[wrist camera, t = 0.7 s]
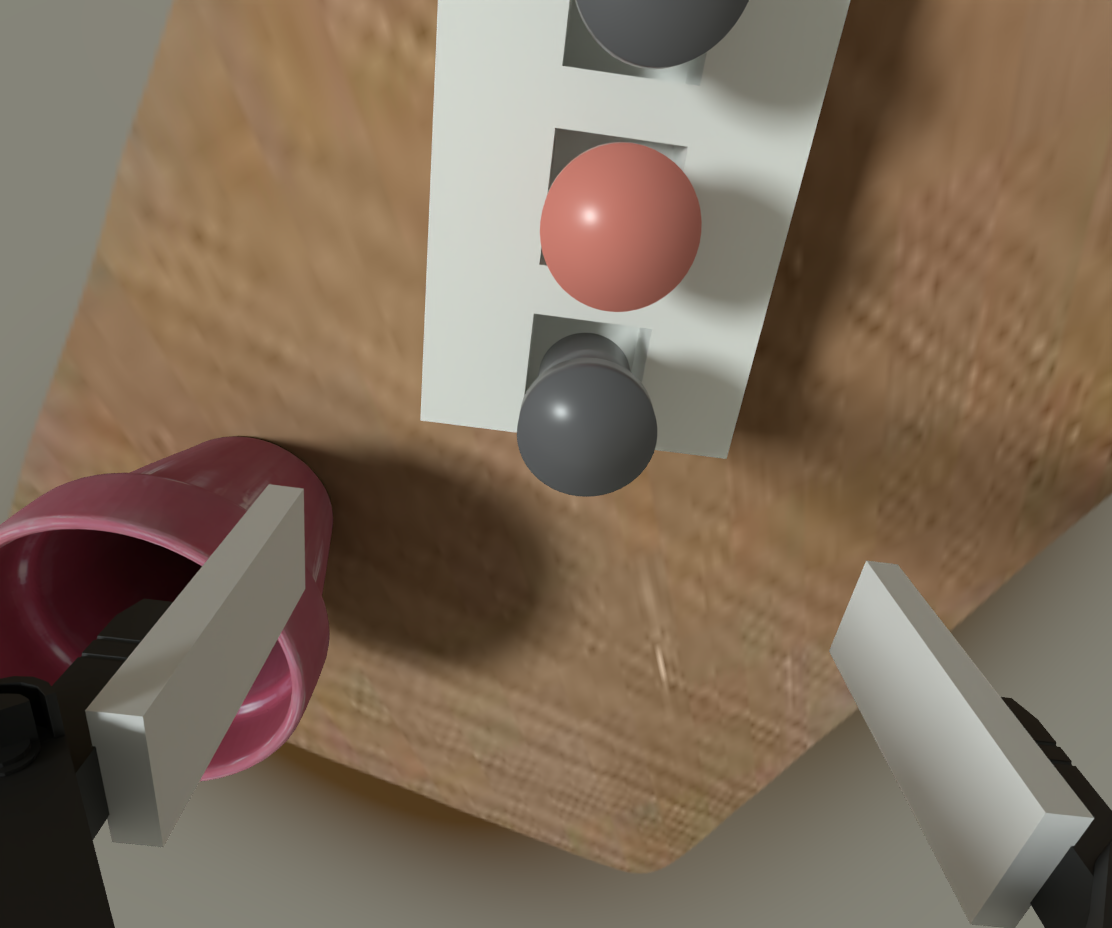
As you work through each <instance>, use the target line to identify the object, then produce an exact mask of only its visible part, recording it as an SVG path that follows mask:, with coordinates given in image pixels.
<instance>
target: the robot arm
mask: <svg viewBox="0 0 1112 928" xmlns="http://www.w3.org/2000/svg"><path fill="white" fill-rule="evenodd" d="M304 590H305V537H304V489H302V488H295V487H287V486H279V485H271V484H269V485H268V486H267V487H266V488H265V490H264V491H263V492H262V493H261V495H260V496H259V497H258V498H257V500H256V501H255V502H254V503H253V504H252V506H251V507H250V508H249V509H248V511H247V512H246V513H245V514H244V516H243V517H242V518H241V519H240V520H239V522H238V523H237V524H236V525H235V527H234V528H233V529H232V530H231V532H230V533H229V534H228V535H227V536H226V538H225V539H224V540H223V541H222V543H221V544H220V545H219V546H218V548H217V549H216V550H215V551H214V552H213V554H212V555H211V556H210V557H209V559H208V560H207V561H206V562H205V564H204V565H203V566H202V567H201V568H200V570H199V571H198V572H197V573H196V575H195V576H194V577H193V578H192V580H191V581H190V582H189V583H188V584H187V586H186V587H185V588H184V589H183V591H182V592H181V593H180V594H179V596H178V597H177V598H176V599H175V600H174V602H169V601H161V600H152V599H142V600H141V601H139V602H137V603H136V604H134V605H132V606H131V607H129V608H127V609H126V610H124V611H122V612H120V613H119V614H117V615H116V616H115V617H114V618H113V619H112V620H111V621H110V622H109V623H108V625H107V626H106V627H105V628H104V629H103V630H102V631H101V632H100V633H99V634H98V636H97V639H96V640H93V641H92V642H91V643H90V644H89V646H88V647H87V648H86V649H85V650H84V651H83V652H82V656H81V657H78V658H77V659H76V660H75V661H74V662H73V663H72V664H71V665H70V666H69V668H68V669H67V670H66V671H65V672H64V673H63V674H62V675H61V676H60V677H59V679H58V680H57V681H56V682H55V683H54V684H53V685H52V686H51V685H50V684H49V682H47V681H44V680H41V679H39V678H36V677H30V676H11V677H6V678H1V679H0V928H115V927H114V923H113V919H112V915H111V911H110V907H109V903H108V900H107V895H106V891H105V887H104V883H103V880H102V876H101V872H100V868H99V864H98V860H97V856H96V852H95V848H94V844H93V839H94V838H95V836H96V834H97V833H98V831H99V830H100V828H101V827H102V825H103V824H104V822H105V821H106V819H108V824H109V829H110V833H111V838H112V842H116V843H126V844H136V845H147V846H158V847H164V845H165V843H166V841H167V840H168V838H169V836H170V834H171V832H172V830H173V829H174V827H175V825H176V823H177V821H178V820H179V818H180V816H181V814H182V812H183V810H184V808H185V807H186V805H187V803H188V801H189V799H190V798H191V796H192V794H193V792H194V790H195V789H196V787H197V785H198V783H199V781H200V779H201V778H202V776H203V774H204V772H205V770H206V769H207V767H208V765H209V763H210V761H211V759H212V758H213V756H214V754H215V752H216V750H217V749H218V747H219V745H220V743H221V741H222V739H223V738H224V736H225V734H226V732H227V730H228V729H229V727H230V725H231V723H232V721H233V719H234V718H235V716H236V714H237V712H238V710H239V708H240V707H241V705H242V703H243V701H244V699H245V698H246V696H247V694H248V692H249V690H250V688H251V687H252V685H253V683H254V681H255V679H256V678H257V676H258V674H259V672H260V670H261V668H262V667H263V665H264V663H265V661H266V659H267V658H268V656H269V654H270V652H271V650H272V648H273V647H274V645H275V643H276V641H277V639H278V638H279V636H280V634H281V632H282V630H283V628H284V627H285V625H286V623H287V621H288V619H289V617H290V616H291V614H292V612H293V610H294V608H295V607H296V605H297V603H298V601H299V599H300V597H301V596H302V594H303V592H304ZM829 652H830V654H831V656H832V658H833V659H834V661H835V663H836V665H837V667H838V669H839V671H840V673H841V675H842V677H843V679H844V681H845V683H846V685H847V687H848V688H849V690H850V692H851V694H852V696H853V698H854V700H855V702H856V704H857V706H858V708H859V710H860V712H861V713H862V715H863V717H864V719H865V721H866V723H867V725H868V727H869V729H870V731H871V733H872V735H873V737H874V739H875V741H876V743H877V745H878V746H879V748H880V750H881V752H882V754H883V756H884V758H885V760H886V762H887V764H888V766H889V768H890V769H891V772H892V774H893V776H894V777H895V779H896V781H897V783H898V785H899V787H900V789H901V790H902V793H903V795H904V796H905V799H906V801H907V802H908V805H909V806H910V808H911V810H912V812H913V814H914V816H915V818H916V820H917V822H918V824H919V826H920V828H921V830H922V832H923V833H924V835H925V837H926V839H927V841H928V843H929V845H930V847H931V849H932V851H933V853H934V855H935V857H936V859H937V861H938V862H939V864H940V866H941V868H942V870H943V872H944V874H945V876H946V878H947V880H948V882H949V884H950V886H951V888H952V889H953V892H954V893H955V895H956V897H957V899H958V901H959V903H960V905H961V907H962V909H963V911H964V913H965V915H966V917H967V919H968V921H969V922H970V924H972V925H983V926H994V927H1004V928H1015V927H1016V925H1017V924H1018V923H1019V921H1020V920H1021V919H1022V917H1023V916H1024V914H1025V913H1026V912H1027V910H1028V909H1029V907H1030V906H1032V907H1033V909H1034V910H1035V912H1036V914H1037V915H1038V917H1039V919H1040V920H1041V922H1042V924H1043V925H1044V927H1045V928H1112V811H1111V809H1110V808H1109V807H1108V806H1107V805H1106V803H1105V802H1104V801H1103V799H1102V798H1101V797H1100V796H1099V794H1098V793H1097V792H1096V791H1095V790H1094V788H1093V787H1092V786H1091V785H1090V783H1089V782H1088V781H1087V780H1086V778H1085V777H1084V776H1083V775H1082V773H1081V772H1080V771H1079V770H1078V769H1077V767H1076V766H1072V764H1071V760H1070V759H1069V757H1068V756H1067V755H1066V754H1065V753H1064V751H1063V750H1062V749H1061V748H1060V747H1057V746H1056V741H1055V740H1054V739H1053V738H1052V737H1051V735H1050V734H1049V733H1048V732H1047V731H1046V729H1045V728H1044V727H1043V725H1042V724H1041V723H1040V722H1039V720H1038V719H1036V718H1035V717H1034V716H1033V715H1032V714H1030V713H1029V712H1028V711H1027V710H1025V709H1024V708H1023V707H1022V706H1020V705H1019V704H1018V703H1017V702H1016V701H1014V700H1013V699H1012V698H1005V697H1000V696H999V695H998V693H997V692H996V691H995V690H994V688H993V687H992V686H991V685H990V683H989V682H988V680H987V679H986V678H985V677H984V675H983V674H982V673H981V672H980V670H979V669H978V668H977V666H976V665H975V664H974V662H973V661H972V660H971V659H970V657H969V656H968V655H967V653H966V652H965V651H964V649H963V648H962V647H961V646H960V644H959V643H958V642H957V641H956V639H955V638H954V637H953V635H952V634H951V633H950V631H949V630H948V629H947V628H946V626H945V625H944V624H943V622H942V621H941V620H940V619H939V617H938V616H937V615H936V613H935V612H934V611H933V610H932V608H931V607H930V606H929V604H928V603H927V602H926V601H925V599H924V598H923V597H922V595H921V594H920V593H919V592H918V590H917V589H916V588H915V586H914V585H913V584H912V583H911V581H910V580H909V579H908V577H907V576H906V575H905V573H904V572H903V571H902V570H901V568H900V567H899V566H898V565H896V564H889V563H881V562H873V561H866V563H865V565H864V568H863V570H862V573H861V575H860V577H859V580H858V582H857V585H856V587H855V590H854V592H853V594H852V597H851V599H850V602H849V604H848V607H847V609H846V611H845V614H844V616H843V619H842V621H841V624H840V626H839V629H838V631H837V633H836V636H835V638H834V641H833V643H832V646H831V648H830V650H829Z"/></svg>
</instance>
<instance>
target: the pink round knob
mask: <svg viewBox="0 0 1112 928" xmlns="http://www.w3.org/2000/svg"><path fill="white" fill-rule="evenodd" d="M701 227H702V220H701V210H700V206H699V201H698V198H697V195H696V193H695V190H694V188H693V186H692V184H691V182H690V181H689V179H688V177H687V176H686V175H685V173H684V172H683V171H682V170H681V169H680V168H679V167H678V166H677V165H676V163H675V162H673V161H672V160H671V159H669V158H668V157H667V156H665V155H663V154H662V153H660V152H658V151H656V150H654V149H652V148H649V147H647V146H644V145H641V144H636V143H632V142H611V143H606V144H602V145H598V146H596V147H593V148H590V149H588V150H587V151H585V152H583V153H581V154H579V155H578V156H577V157H575V158H574V159H573V160H571V161H570V162H569V163H568V164H567V165H566V166H565V167H564V168H563V169H562V171H561V172H560V173H559V174H558V176H557V177H556V179H555V180H554V182H553V183H552V185H551V187H550V189H549V192H548V194H547V197H546V200H545V203H544V206H543V210H542V215H541V220H540V241H541V247H542V252H543V256H544V259H545V262H546V264H547V266H548V268H549V270H550V272H551V274H552V276H553V277H554V279H555V280H556V282H557V283H558V284H559V285H560V286H561V287H562V289H563V290H564V291H566V292H567V293H568V294H569V295H570V296H571V297H573V298H574V299H576V300H577V301H579V302H581V303H583V304H585V305H587V306H589V307H592V308H595V309H598V310H603V311H609V312H627V311H632V310H637V309H641V308H644V307H647V306H649V305H651V304H653V303H655V302H657V301H659V300H660V299H662V298H663V297H665V296H666V295H667V294H669V293H670V292H671V291H672V290H673V289H674V288H675V287H676V286H677V285H678V284H679V283H680V282H681V281H682V279H683V278H684V277H685V275H686V274H687V273H688V271H689V269H690V267H691V266H692V264H693V261H694V259H695V257H696V254H697V251H698V247H699V244H700V238H701Z"/></svg>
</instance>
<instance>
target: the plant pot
mask: <svg viewBox="0 0 1112 928" xmlns="http://www.w3.org/2000/svg"><path fill="white" fill-rule="evenodd" d="M269 484H271V485H279V486H287V487H295V488H302V489H304V537H305V590H304V592H303V594H302V596H301V597H300V599H299V601H298V603H297V605H296V607H295V608H294V610H293V612H292V614H291V616H290V617H289V619H288V621H287V623H286V625H285V627H284V628H283V630H282V632H281V634H280V636H279V638H278V639H277V641H276V643H275V645H274V647H273V648H272V650H271V652H270V654H269V656H268V658H267V659H266V661H265V663H264V665H263V667H262V668H261V670H260V672H259V674H258V676H257V678H256V679H255V681H254V683H253V685H252V687H251V688H250V690H249V692H248V694H247V696H246V698H245V699H244V701H243V703H242V705H241V707H240V708H239V710H238V712H237V714H236V716H235V718H234V719H233V721H232V723H231V725H230V727H229V729H228V730H227V732H226V734H225V736H224V738H223V739H222V741H221V743H220V745H219V747H218V749H217V750H216V752H215V754H214V756H213V758H212V759H211V761H210V763H209V765H208V767H207V769H206V770H205V772H204V774H203V776H202V778H201V779H200V781H206V780H211V779H216V778H221V777H225V776H228V775H231V774H235V773H238V772H240V771H243V770H245V769H247V768H250V767H252V766H254V765H255V764H257V763H259V762H261V761H263V760H264V759H265V758H267V757H268V756H270V755H271V754H272V753H273V752H275V751H276V750H278V749H279V748H280V747H281V746H282V745H283V744H284V743H285V742H286V741H287V740H288V739H289V737H290V736H291V735H292V733H293V732H294V730H295V729H296V727H297V725H298V724H299V722H300V720H301V718H302V716H303V714H304V712H305V710H306V707H307V705H308V703H309V700H310V698H311V696H312V693H313V691H314V689H315V686H316V684H317V681H318V679H319V676H320V674H321V671H322V668H323V665H324V662H325V660H326V656H327V651H328V646H329V622H328V615H327V611H326V607H325V603H324V600H323V598H322V593H323V587H324V581H325V575H326V569H327V562H328V555H329V548H330V541H331V534H332V527H333V512H332V506H331V502H330V499H329V496H328V494H327V491H326V489H325V488H324V486H323V484H322V483H321V481H320V480H319V478H318V477H317V476H316V474H315V473H314V472H313V471H312V470H311V469H310V468H309V467H308V466H307V465H306V464H305V463H304V462H303V461H301V460H300V459H299V458H298V457H296V456H295V455H293V454H292V453H290V452H289V451H287V450H285V449H283V448H281V447H279V446H277V445H275V444H272V443H270V442H266V441H263V440H259V439H255V438H249V437H222V438H217V439H213V440H209V441H206V442H203V443H201V444H199V445H196V446H194V447H192V448H189V449H187V450H184V451H182V452H179V453H176V454H174V455H171V456H169V457H166V458H164V459H161V460H159V461H156V462H154V463H151V464H149V465H146V466H144V467H142V468H139V469H137V470H135V471H132V472H130V473H111V474H101V475H94V476H89V477H84V478H80V479H77V480H74V481H71V482H68V483H66V484H63V485H61V486H58V487H56V488H54V489H52V490H50V491H49V492H47V493H45V494H43V495H42V496H40V497H39V498H37V499H36V500H34V501H33V502H31V503H30V504H28V505H27V506H26V507H24V508H23V509H21V510H20V511H18V512H17V513H16V514H14V515H13V516H12V517H10V518H9V519H8V520H6V521H5V522H4V523H2V524H1V525H0V679H1V678H6V677H11V676H30V677H36V678H39V679H41V680H44V681H47V682H49V684H50V685H51V686H52V685H53V684H54V683H55V682H56V681H57V680H58V679H59V677H60V676H61V675H62V674H63V673H64V672H65V671H66V670H67V669H68V668H69V666H70V665H71V664H72V663H73V662H74V661H75V660H76V659H77V658H78V657H81V656H82V652H83V651H84V650H85V649H86V648H87V647H88V646H89V644H90V643H91V642H92V641H93V640H96V639H97V636H98V634H99V633H100V632H101V631H102V630H103V629H104V628H105V627H106V626H107V625H108V623H109V622H110V621H111V620H112V619H113V618H114V617H115V616H116V615H117V614H119V613H120V612H122V611H124V610H126V609H127V608H129V607H131V606H132V605H134V604H136V603H137V602H139V601H141V600H142V599H152V600H161V601H169V602H174V600H175V599H176V598H177V597H178V596H179V594H180V593H181V592H182V591H183V589H184V588H185V587H186V586H187V584H188V583H189V582H190V581H191V580H192V578H193V577H194V576H195V575H196V573H197V572H198V571H199V570H200V568H201V567H202V566H203V565H204V564H205V562H206V561H207V560H208V559H209V557H210V556H211V555H212V554H213V552H214V551H215V550H216V549H217V548H218V546H219V545H220V544H221V543H222V541H223V540H224V539H225V538H226V536H227V535H228V534H229V533H230V532H231V530H232V529H233V528H234V527H235V525H236V524H237V523H238V522H239V520H240V519H241V518H242V517H243V516H244V514H245V513H246V512H247V511H248V509H249V508H250V507H251V506H252V504H253V503H254V502H255V501H256V500H257V498H258V497H259V496H260V495H261V493H262V492H263V491H264V490H265V488H266V487H267V486H268V485H269Z"/></svg>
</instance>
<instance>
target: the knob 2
mask: <svg viewBox="0 0 1112 928" xmlns="http://www.w3.org/2000/svg"><path fill="white" fill-rule="evenodd" d="M575 1H576V5H577V8H578V11H579V13H580V16H581V18H582V20H583V22H584V24H585V26H586V28H587V29H588V31H589V33H590V34H591V35H592V37H593V38H594V39H595V41H596V42H597V43H598V44H599V45H600V46H601V47H602V48H603V49H604V50H605V51H607V52H608V53H609V54H610V55H612V56H613V57H615V58H616V59H618V60H620V61H622V62H624V63H626V64H629V65H631V66H635V67H639V68H643V69H665V68H670V67H674V66H678V65H681V64H683V63H686V62H688V61H691V60H693V59H695V58H697V57H699V56H700V55H702V54H704V53H706V52H707V51H708V50H710V49H711V48H713V47H714V46H715V45H716V44H717V43H719V42H720V41H721V40H722V39H723V38H724V37H725V36H726V35H727V34H728V32H729V31H730V30H731V29H732V28H733V26H734V25H735V24H736V22H737V21H738V19H739V18H740V16H741V15H742V13H743V11H744V9H745V7H746V5H747V3H748V1H749V0H575Z"/></svg>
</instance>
